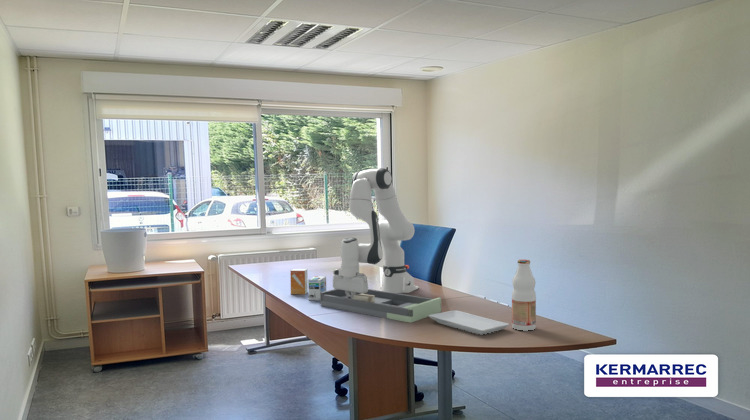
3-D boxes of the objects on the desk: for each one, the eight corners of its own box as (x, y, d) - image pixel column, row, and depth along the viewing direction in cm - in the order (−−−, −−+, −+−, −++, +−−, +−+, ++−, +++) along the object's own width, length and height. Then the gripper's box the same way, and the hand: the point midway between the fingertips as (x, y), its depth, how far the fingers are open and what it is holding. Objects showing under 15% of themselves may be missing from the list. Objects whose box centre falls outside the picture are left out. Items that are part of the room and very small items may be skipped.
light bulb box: (320, 300, 284) (320, 279, 283) (308, 300, 285) (307, 279, 284) (326, 296, 294) (326, 276, 293) (314, 296, 295) (314, 275, 295)
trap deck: (353, 297, 291) (353, 284, 291) (441, 311, 257) (441, 297, 257) (320, 305, 273) (320, 292, 272) (410, 322, 239) (410, 307, 238)
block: (361, 301, 269) (361, 293, 269) (374, 303, 264) (374, 295, 264) (353, 304, 264) (353, 295, 264) (366, 306, 259) (366, 297, 259)
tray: (455, 316, 250) (455, 309, 249) (511, 331, 224) (511, 323, 224) (426, 322, 240) (426, 314, 239) (482, 339, 214) (482, 330, 214)
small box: (290, 294, 300) (290, 270, 299) (293, 292, 306) (292, 268, 305) (305, 294, 299) (304, 270, 298) (308, 292, 305) (307, 268, 305)
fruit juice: (515, 332, 223) (516, 262, 221) (508, 325, 232) (509, 258, 230) (539, 331, 223) (539, 261, 222) (531, 325, 233) (531, 258, 231)
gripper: (370, 273, 265) (371, 301, 265) (339, 268, 278) (339, 296, 278) (362, 274, 260) (362, 304, 261) (330, 270, 273) (330, 298, 274)
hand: (350, 300), depth 270 cm, fingers closed
